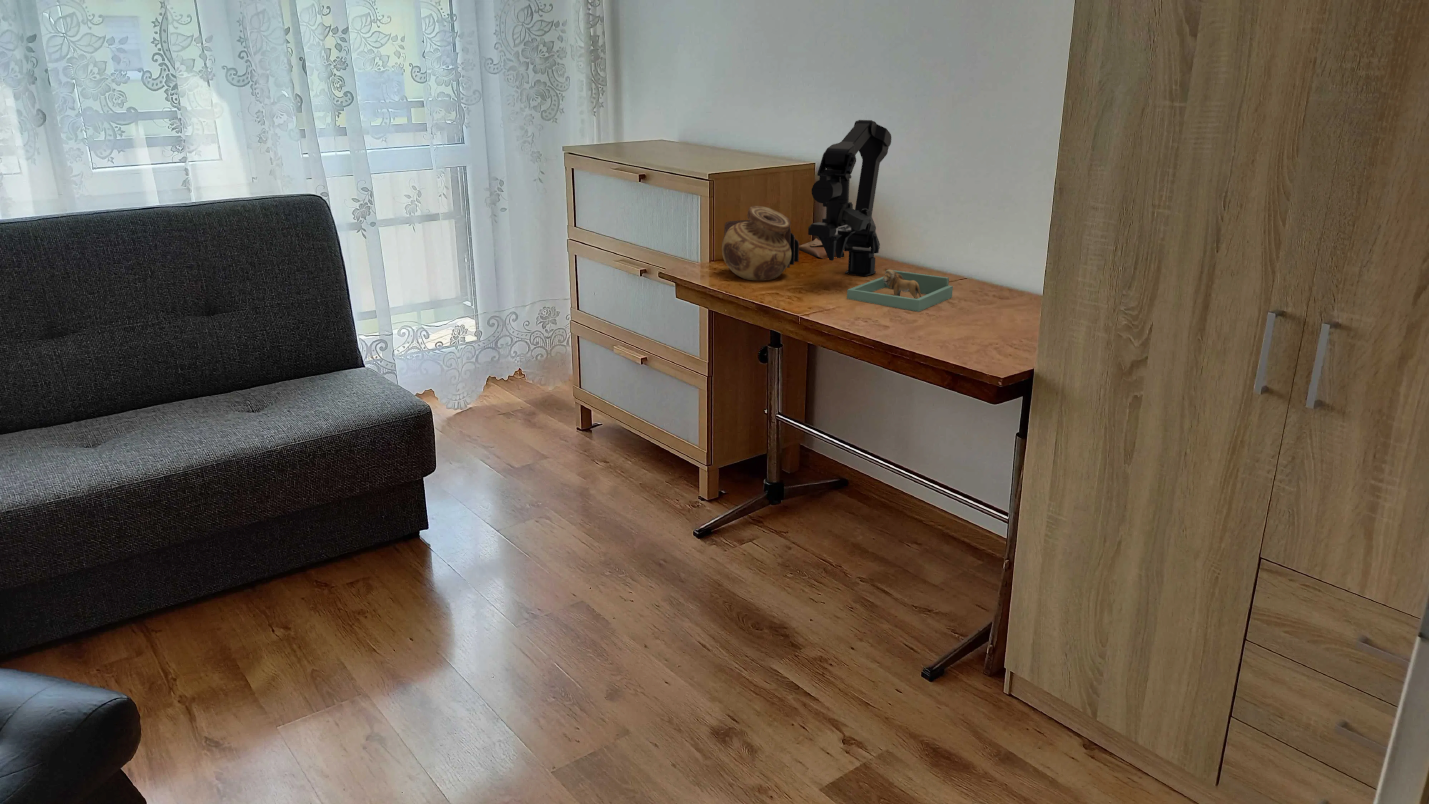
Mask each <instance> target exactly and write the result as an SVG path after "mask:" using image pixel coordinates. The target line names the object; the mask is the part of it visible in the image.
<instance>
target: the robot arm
mask: <svg viewBox="0 0 1429 804" xmlns="http://www.w3.org/2000/svg"><path fill="white" fill-rule="evenodd" d="M891 144H892V134H891V132H890V131H889V130H888V128H886V127H885V126H882V125H880V124H878V123H877V122H876V121H875V120H874V121H873V120H872V119H858V120H855V122H854V125H853V127H852V128H851V129H850V131H848V133H847V134H846V135H845V136H844V138H843V139H841V141H840V142H837V143H832V144H831V145H830V146H828V147H827V148H826V149H825V151H824V152H823V154H822V156H821V161H820V164H819V167H818V170H817V172H816V173H817V174H816V175H817V176H819V179H818V180H817V181H815V182H814V183H813V185H812V188H811V195H812V198H813V200H814V201H815V202H817V203H818V204H822V207H824V208H825V217H824V218H823V217H822V221H821V222H819V221H818V222H814V223H811V224H810V225H809V226H808V227H807V228H808V230H807V234H808V236H815V237H818V240H820V241H821V243H822V245H823V247H824V249H825V251H826V254H827V256H828V258H829V259H828V260H829V261H834V259H835V258H834V256H835V253H836V257H837V258H836V259H842V258H841V256H842V254H843V252H848V263H847V265H848V266H847V271H845V272H844V273H845V274H846V275H853V276H860V277H868V276H870V275H873V274H877V271H876V257H875V254H879V253H880V246H881V244H880V241H879V238H878V234H877V232H876V230H877V226H876V224H875V222H874V219H873V208H874V204H875V203H874V202H875V197H876V189H877V183H878V178H879V171H880V164H881V162H882V161H883V160H884V159H885V158H886V157H887V155H888V153H889V152H888V151H889V147H890V146H891ZM858 152H859V155H860V156H861V169H860V175H859V181H858V188H857V194H856V199H855V200H856V201H855V207H854V206H853V205H854V204H853V203H852V202H853V201H850V179H852V175H851V174H852V173H853V170H854V168H855V166H856V164H857V163H856V162H857V158H856V157H857V156H856V155H857V154H858Z"/></svg>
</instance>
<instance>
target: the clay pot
mask: <svg viewBox="0 0 1429 804" xmlns="http://www.w3.org/2000/svg"><path fill="white" fill-rule="evenodd" d="M746 216H747V220H750V221H751V222H740V223H737V224H735V225H733V226H732V227H730V228H729V229H728V231H727V232H726V234H725V235H724V234H723V239H722V243H721V253H722V254H721V255H722V259H723V262H724V264H726V266H727V267H728V269H729V270H730V271H731V272H732V273H733V274H735V275H736V276H737V277H740V278H741V279H743V280H747V281H771V280H775V279H777V278H778V277H779V276H781V274H783V272H784V271H785V270H786V269H787V268H786V267H787V266H788V264H789V262H790V260H791V255H792V253H791V248H790V246H789V244H788V242H787V241H786V239H785V234H786V232H787V231H788V229H789V227H790V228H791V224H792V221H791V219H790V218H789V217H787V216H786V215H784V214H783V213H782V212H780V211H777V210H775V209H774V208H773V209H772V208H771V207H768V206H762V205H761V206H760V205H751V206H750V207H748V210H747V215H746Z"/></svg>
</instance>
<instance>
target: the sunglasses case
mask: <svg viewBox="0 0 1429 804" xmlns="http://www.w3.org/2000/svg"><path fill="white" fill-rule="evenodd" d="M799 251H801V252H803V253H806V254H807V255H810V256H813V257H816V258H820V259H823V260H825V259H824V258H828V256H827V254H826V251H825V249H824V247H823V245H822V243H821V241H820V239H819V238H817V237H815V239H814V240H811V241H809V242H806V243H803V244H799ZM834 257H836V253H835V256H834ZM841 257H844V258H845V251H843V254H842V256H841Z"/></svg>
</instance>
